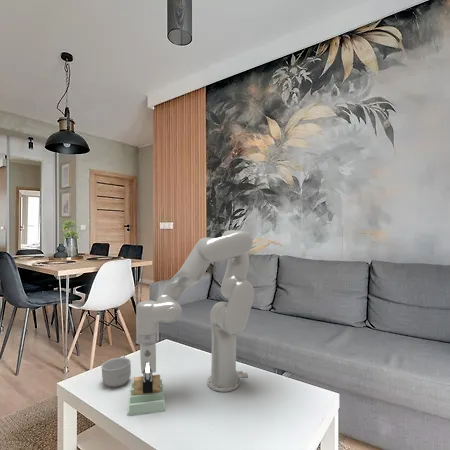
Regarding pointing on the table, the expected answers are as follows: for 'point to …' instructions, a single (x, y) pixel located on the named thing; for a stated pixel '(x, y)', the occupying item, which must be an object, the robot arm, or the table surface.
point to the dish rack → (146, 402)
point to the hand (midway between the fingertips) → (147, 385)
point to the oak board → (139, 385)
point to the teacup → (116, 371)
